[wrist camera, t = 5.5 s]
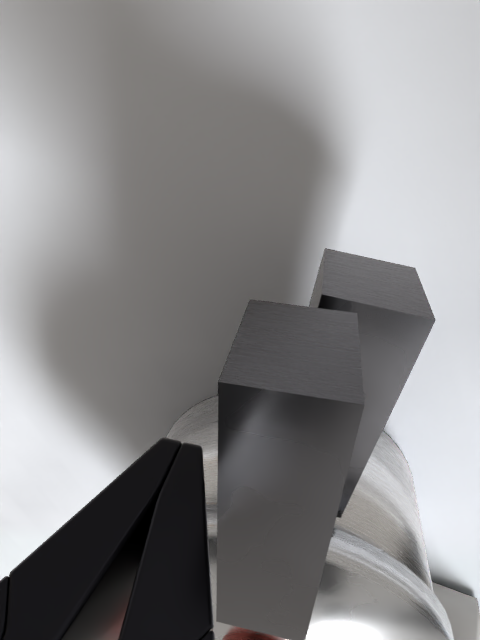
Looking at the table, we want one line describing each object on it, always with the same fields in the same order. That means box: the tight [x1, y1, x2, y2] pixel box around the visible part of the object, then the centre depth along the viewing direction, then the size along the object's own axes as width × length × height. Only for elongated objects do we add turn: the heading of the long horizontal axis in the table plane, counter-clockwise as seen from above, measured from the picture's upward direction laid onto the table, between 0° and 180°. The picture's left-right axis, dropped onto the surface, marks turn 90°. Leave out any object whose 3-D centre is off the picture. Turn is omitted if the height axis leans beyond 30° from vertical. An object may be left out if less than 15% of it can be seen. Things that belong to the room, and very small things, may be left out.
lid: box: [206, 300, 454, 640], centre depth 11 cm, size 18×12×2 cm, turn 179°
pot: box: [166, 248, 435, 593], centre depth 15 cm, size 20×11×5 cm, turn 172°
